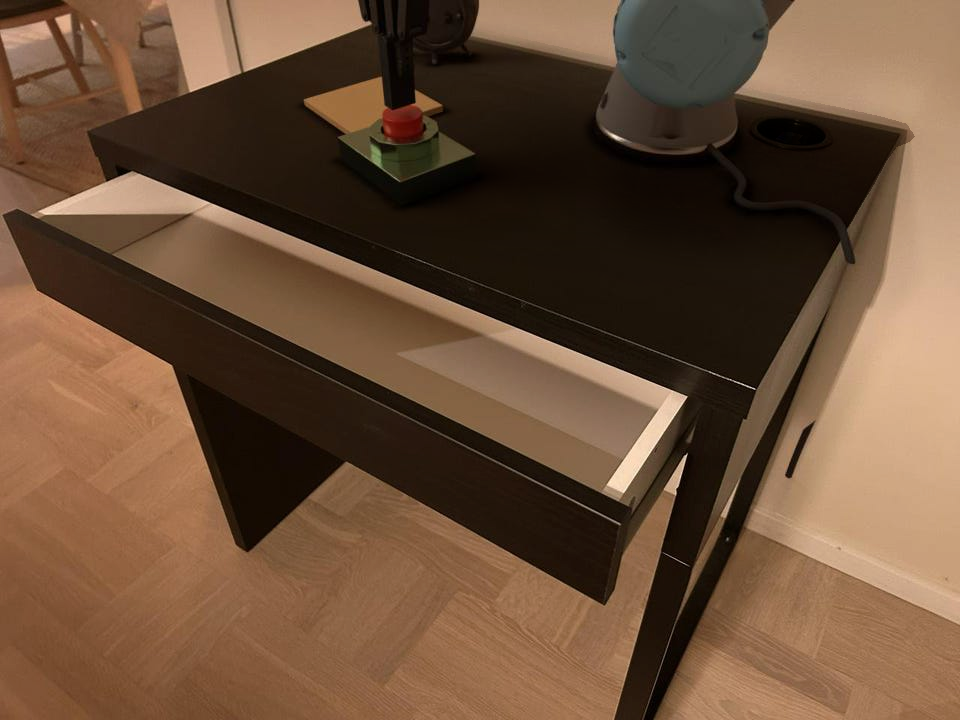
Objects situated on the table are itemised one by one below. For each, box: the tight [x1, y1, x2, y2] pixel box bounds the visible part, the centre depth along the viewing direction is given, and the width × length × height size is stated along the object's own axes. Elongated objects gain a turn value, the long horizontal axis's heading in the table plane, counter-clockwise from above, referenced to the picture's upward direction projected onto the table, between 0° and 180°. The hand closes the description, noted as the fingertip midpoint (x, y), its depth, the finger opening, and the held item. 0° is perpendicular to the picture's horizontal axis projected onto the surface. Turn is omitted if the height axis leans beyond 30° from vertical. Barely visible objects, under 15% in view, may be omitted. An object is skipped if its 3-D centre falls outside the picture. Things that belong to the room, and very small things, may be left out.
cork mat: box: [303, 76, 444, 135], centre depth 89 cm, size 12×12×1 cm
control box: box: [337, 116, 477, 207], centre depth 77 cm, size 12×9×4 cm
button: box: [382, 105, 424, 139], centre depth 75 cm, size 4×4×2 cm
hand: (400, 103), depth 73 cm, fingers closed
